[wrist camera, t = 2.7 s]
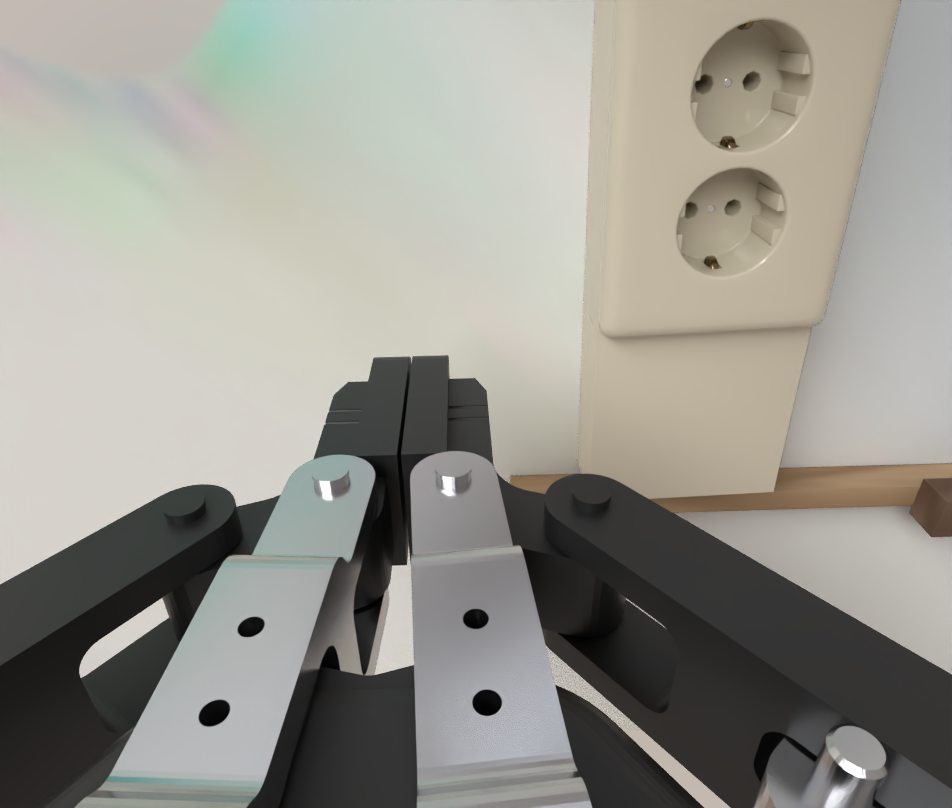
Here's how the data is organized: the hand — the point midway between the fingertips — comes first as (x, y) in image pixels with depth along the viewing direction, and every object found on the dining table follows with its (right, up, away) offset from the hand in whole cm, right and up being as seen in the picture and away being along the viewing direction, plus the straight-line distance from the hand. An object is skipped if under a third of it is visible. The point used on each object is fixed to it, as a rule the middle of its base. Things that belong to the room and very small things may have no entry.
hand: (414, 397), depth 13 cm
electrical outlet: (+9, +6, +10) cm, 15 cm away
